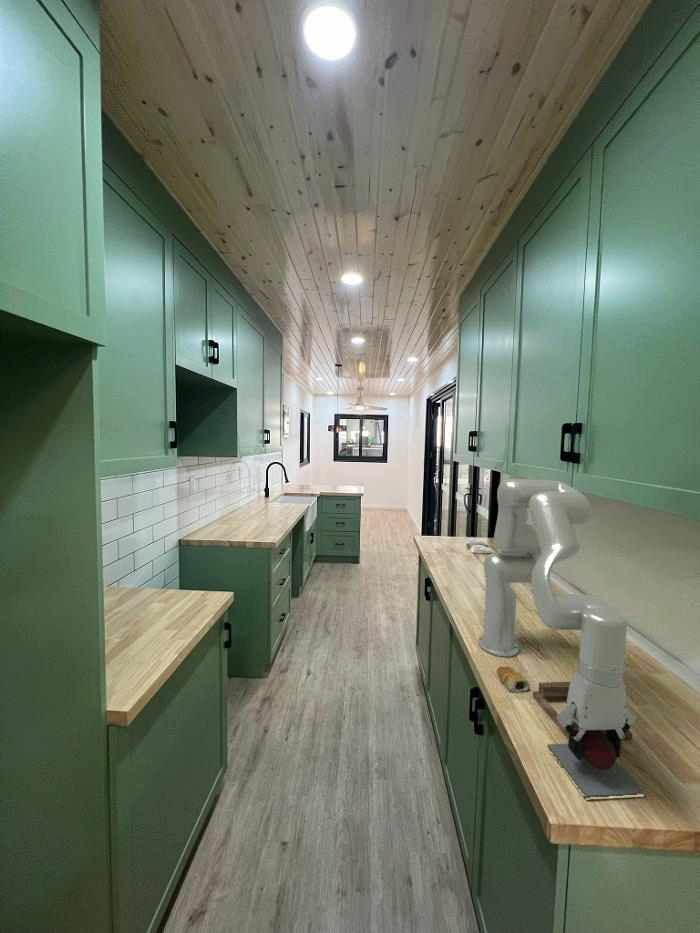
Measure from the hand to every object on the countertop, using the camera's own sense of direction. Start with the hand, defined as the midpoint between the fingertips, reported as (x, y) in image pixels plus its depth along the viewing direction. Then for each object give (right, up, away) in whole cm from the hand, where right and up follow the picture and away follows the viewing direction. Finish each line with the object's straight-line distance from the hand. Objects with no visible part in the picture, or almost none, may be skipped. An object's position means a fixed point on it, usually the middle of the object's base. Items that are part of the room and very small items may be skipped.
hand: (593, 752), depth 77 cm
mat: (0, -4, 0) cm, 4 cm away
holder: (+7, -3, +16) cm, 17 cm away
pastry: (-5, -2, +28) cm, 29 cm away
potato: (0, -2, 0) cm, 2 cm away
